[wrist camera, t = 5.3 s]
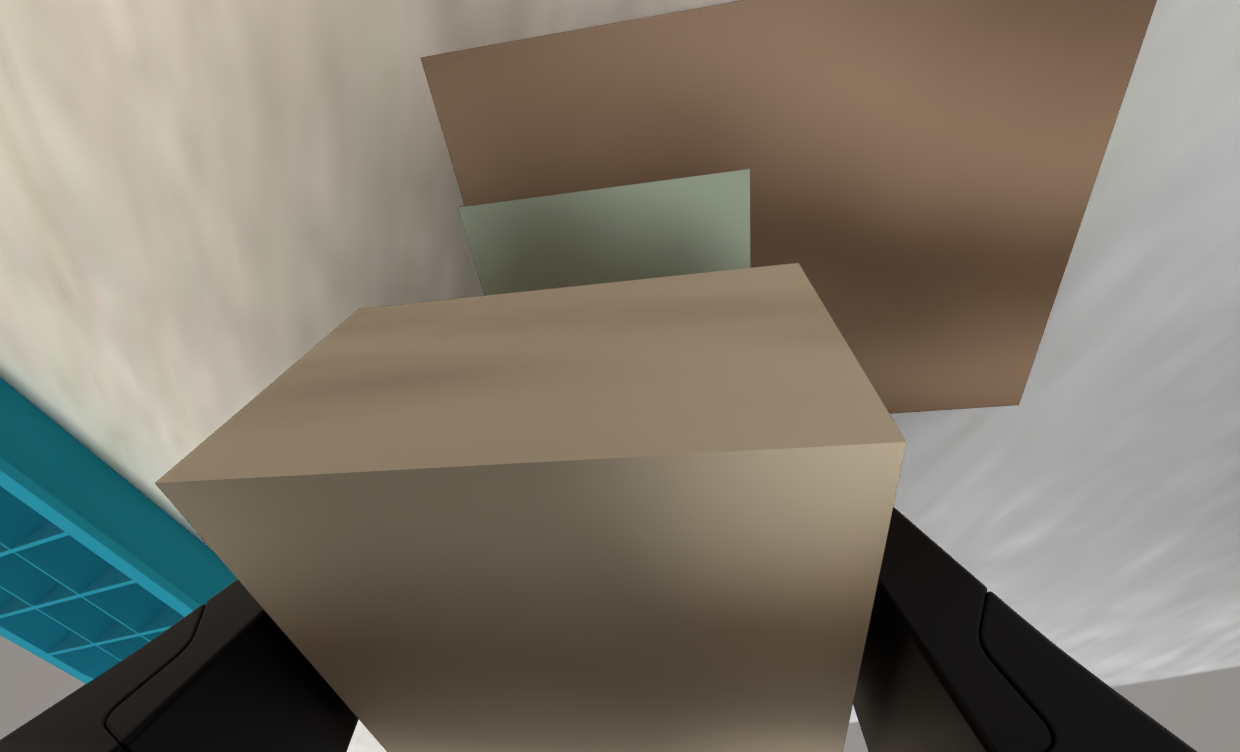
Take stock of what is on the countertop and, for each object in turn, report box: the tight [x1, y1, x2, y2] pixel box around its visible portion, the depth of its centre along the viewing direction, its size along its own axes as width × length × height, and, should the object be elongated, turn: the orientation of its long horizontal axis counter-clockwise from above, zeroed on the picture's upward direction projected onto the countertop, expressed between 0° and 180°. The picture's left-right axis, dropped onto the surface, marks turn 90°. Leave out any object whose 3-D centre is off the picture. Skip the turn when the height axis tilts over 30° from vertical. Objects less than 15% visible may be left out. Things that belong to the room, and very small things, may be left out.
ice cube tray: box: [0, 378, 237, 684], centre depth 22 cm, size 12×20×3 cm, turn 22°
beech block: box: [155, 263, 906, 752], centre depth 8 cm, size 7×7×4 cm
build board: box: [421, 0, 1157, 413], centre depth 14 cm, size 11×15×1 cm
